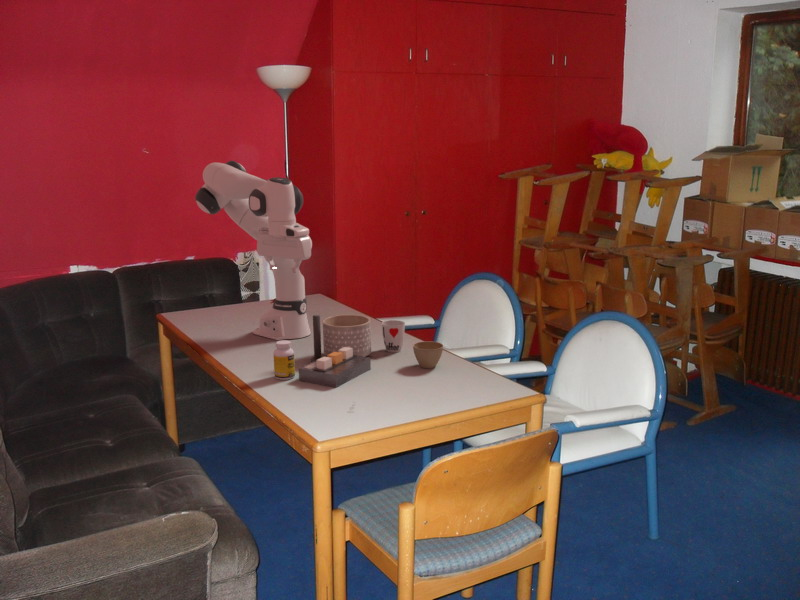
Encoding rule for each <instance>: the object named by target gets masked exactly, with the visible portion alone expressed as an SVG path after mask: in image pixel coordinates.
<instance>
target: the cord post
mask: <svg viewBox="0 0 800 600" xmlns="http://www.w3.org/2000/svg"><path fill="white" fill-rule="evenodd" d="M312 328H313V329H312V331H313V355H314V356H313V358H311V359H310V363H312V362H314V361H316V360H318V359H320V358H322V357H323V356H322V337H321V336H322V335H321V334H322V332H321V315H319V314H315V315H313V316H312Z"/></svg>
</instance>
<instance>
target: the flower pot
mask: <svg viewBox="0 0 800 600" xmlns="http://www.w3.org/2000/svg"><path fill="white" fill-rule="evenodd" d="M412 348H413V353H414V357H415V359H416V362H417V363H418V365H419V366H420V367H421V368H423V369H433V368H435V367H436V366H437V365H438V364H439V361H440V359H441V357H442V354H443V351H444V344H443V343H441V342H438V341H431V340H430V341H429V340H428V341H427V340H426V341H425V340H424V341H418V342H415V343H413V344H412Z"/></svg>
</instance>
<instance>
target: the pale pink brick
mask: <svg viewBox="0 0 800 600" xmlns="http://www.w3.org/2000/svg"><path fill="white" fill-rule="evenodd" d="M338 352H340V353H342V356H343V359H348V358H350V357H352V356H353V348H349V347H344V348H342V349H339V350H338Z"/></svg>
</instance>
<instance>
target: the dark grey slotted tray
mask: <svg viewBox="0 0 800 600" xmlns="http://www.w3.org/2000/svg"><path fill="white" fill-rule="evenodd" d="M324 357H328V355H327V356H325V355H324ZM371 369H372V368H371V357H370V356H369V357H368V356H366V357H364V356H357V355H353V356H352V357H350V358H348V359H343V361H342V362H340V363H337V364H332V366H331V367H329V368H327V369H325V370H323V369H318V368H317V363H316V361H314V362H312V363H311V362H310V363H308V364H305V365H302V366H301V367H299V368H298V381H300V382H304V383H305V382H306V383H309V384H314V385H319V386H327V387H330V388H331V387H332V388H338V387H340V386H342V385H344V384H346V383H348V382H349V381H351V380H353V379H356V378H357V377H358V376H361V375H363V374H365V373H367V372H368V371H370V370H371Z"/></svg>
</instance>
